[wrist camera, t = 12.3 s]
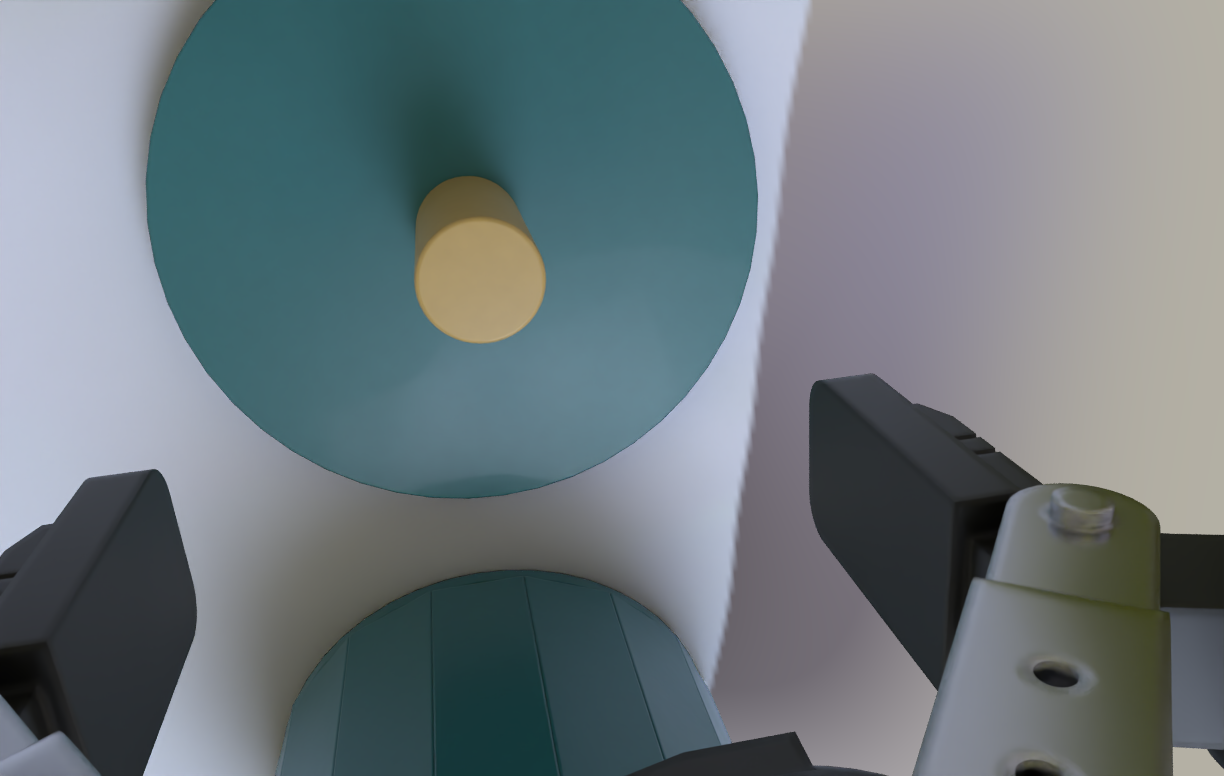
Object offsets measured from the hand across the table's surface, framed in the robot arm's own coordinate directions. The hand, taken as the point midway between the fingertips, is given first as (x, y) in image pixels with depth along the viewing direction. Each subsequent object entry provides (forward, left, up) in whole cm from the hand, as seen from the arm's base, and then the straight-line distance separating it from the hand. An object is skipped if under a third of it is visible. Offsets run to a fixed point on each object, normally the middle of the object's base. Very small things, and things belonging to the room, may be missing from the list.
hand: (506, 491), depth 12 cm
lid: (0, +1, -12) cm, 12 cm away
